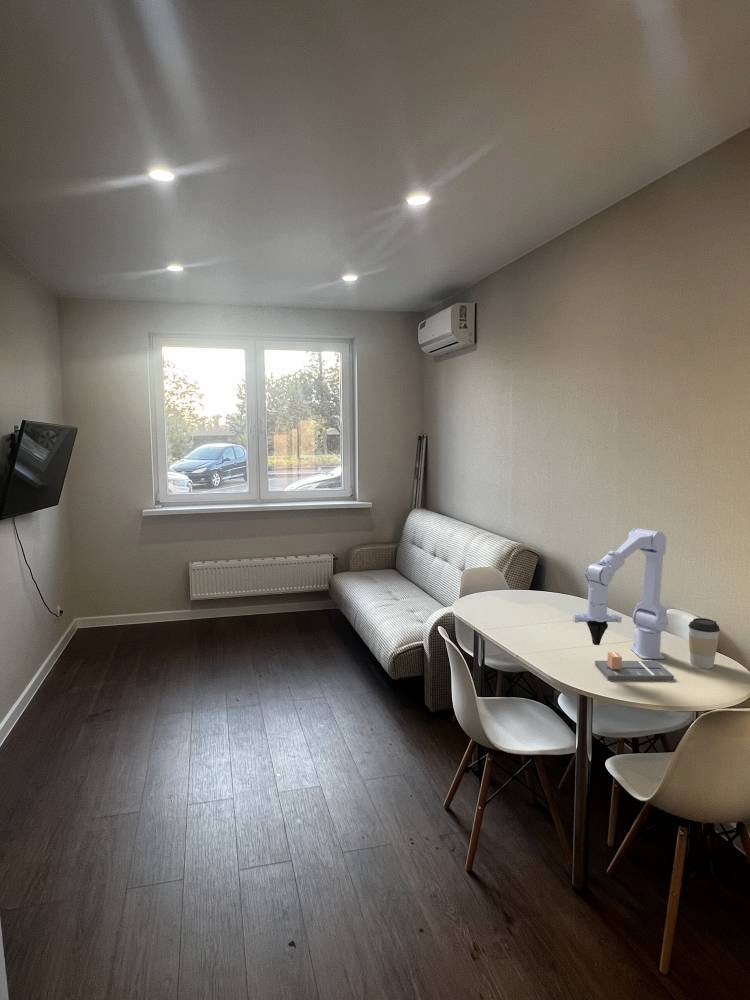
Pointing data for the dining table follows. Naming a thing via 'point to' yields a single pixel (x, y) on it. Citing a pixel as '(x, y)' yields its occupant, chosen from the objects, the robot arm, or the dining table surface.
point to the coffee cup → (703, 642)
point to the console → (636, 671)
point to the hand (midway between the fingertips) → (596, 644)
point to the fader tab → (614, 660)
